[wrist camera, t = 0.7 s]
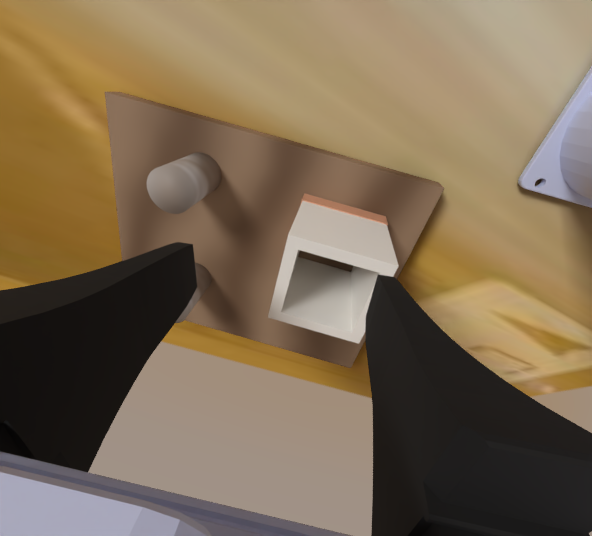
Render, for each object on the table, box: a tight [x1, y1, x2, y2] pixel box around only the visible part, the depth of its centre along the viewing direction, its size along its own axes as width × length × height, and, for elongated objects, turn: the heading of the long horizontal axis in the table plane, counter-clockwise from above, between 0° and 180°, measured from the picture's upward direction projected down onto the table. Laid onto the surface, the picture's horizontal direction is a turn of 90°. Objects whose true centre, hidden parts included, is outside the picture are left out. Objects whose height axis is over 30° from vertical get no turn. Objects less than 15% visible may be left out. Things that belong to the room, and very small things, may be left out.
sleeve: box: [268, 193, 399, 344], centre depth 17 cm, size 5×5×6 cm
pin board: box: [105, 92, 444, 368], centre depth 20 cm, size 20×16×5 cm
